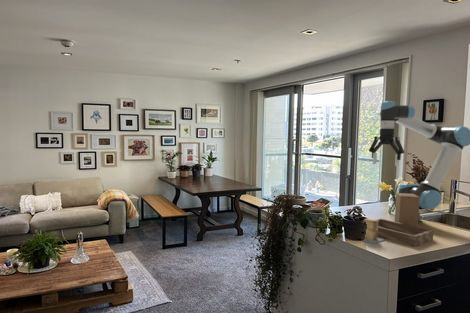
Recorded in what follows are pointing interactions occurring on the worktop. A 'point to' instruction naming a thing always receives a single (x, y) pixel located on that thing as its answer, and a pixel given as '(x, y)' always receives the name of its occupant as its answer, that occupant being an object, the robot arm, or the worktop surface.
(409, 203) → the wooden block
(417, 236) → the brown wooden tray
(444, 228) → the worktop surface
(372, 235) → the oak block
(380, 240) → the mat
